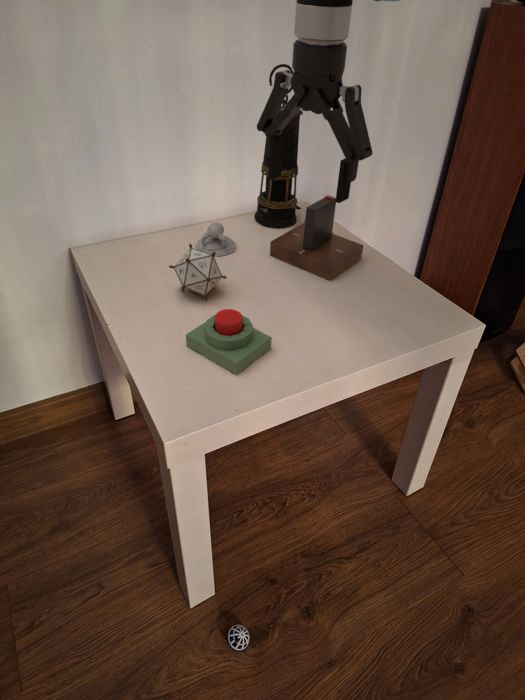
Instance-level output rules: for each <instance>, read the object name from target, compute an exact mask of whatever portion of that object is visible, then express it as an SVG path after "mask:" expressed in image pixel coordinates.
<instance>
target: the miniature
mask: <svg viewBox="0 0 525 700" xmlns="http://www.w3.org/2000/svg"><path fill="white" fill-rule="evenodd" d="M224 232H225V227H224V225H223V223H220V222H212V223H210V224H209V225H208V227H207V230H206V232H205V233H203V234H202V236H201V238H200V239H199V240H198V241H197V242H196V243H195V245H194V247H195V248H194V249H196V250H200V251H203V252H206V253H209V254H212V253H213V252H216V255H215V257H224V256H228V255H231V254H233V253H234V252H235V251H236V250H237V244H236V242H234V241H233V240H232V239H231V238H230V237H229V236H225V235H224Z"/></svg>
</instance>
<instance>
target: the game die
mask: <svg viewBox="0 0 525 700" xmlns="http://www.w3.org/2000/svg"><path fill="white" fill-rule="evenodd" d="M188 248H189V249H188V251H187V252H186V253H185V254H183V256H182V257H181V258H180V259H179V260H178V261H177V263H176V264H175V265H172V264H170V265H168V267H169V269H173V271H174V272H175V274H176V276H177V278H178V280H179V282H180V284H181V286H180V292H185V291H186V290H187V291H190V292H193V293H195V294H198V295H201V296H203V299H204V300H205V301H206V302H207V300H208V296H207V295H208V294H209V292H210V291H211V290H213V288H214V287H215V286H216V285H217V284H218V283H219V281H221V280H222V279H224V280H226V279H228V277H227V276H226V275H223V274H222V272H221V270H220V268H219V264H218V263H217V261H216V258H215V257H216V256H215V255H216V252H213V253H212V254H209V253H206V252H203V251H200V250H196V248H193V244H191V242H189V244H188Z"/></svg>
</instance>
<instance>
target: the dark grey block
mask: <svg viewBox="0 0 525 700" xmlns="http://www.w3.org/2000/svg"><path fill="white" fill-rule="evenodd" d="M335 201H336V196H332V195H329V194H327V195H325V196H324V197H322V198H320V199H319V200H318V201H315V202H313V203H312V204H310V205H308V206H306V208H305V216H304V217H305V218H304V223H305V227H304V238H303V248H305V249H307V250H310V251H312V250H314V249H315V248H317V247H318V246H320V245H321V244H323V243H325V242H326V241H328V240H329V239H331V237H332V232H333V230H334V229H333V228H334V221H335V213H336V207H337V202H335Z"/></svg>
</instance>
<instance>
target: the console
mask: <svg viewBox="0 0 525 700" xmlns="http://www.w3.org/2000/svg"><path fill="white" fill-rule="evenodd" d="M304 227H305V222H303V223H301V224H299V225H298V226H296V227H294V228H292V229H291V230H288V231H287V232H285V233H283V234H282V235H279V236H277V237H276V238H274V239H272V240H271V241H270V244H269V256H271V257H273V258H275V259H278V260H280V261H282V262H285V263H287V264H289V265H292V266H294V267H297V268H299V269H302V270H304V271H306V272H308V273H310V274H313V275H316V276H317V277H320V278H323V279H325V280H327V281H328V282H329V281H330V282H331V281H332V280H334V279H336V278H337V277H338V276H340V274H343V272H345V271H346V270H348V269H349V268H351V267H352V266H354V265H355V264H356V263H358V262H360V260H361V259H362V258H363V257H362V256H363V250H364V244H362V243H359V242H356V241H354V240H350V239H348V238H346V237H343V236H340V235H338V234H335V232H333V231H332V237H331V239H329V240H328V241H326V242H325V243H323V244H321V245H320V246H318V247H317V248H315V249H314V250H312V251H310V250H307V249H305V248H303V238H304Z"/></svg>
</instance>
